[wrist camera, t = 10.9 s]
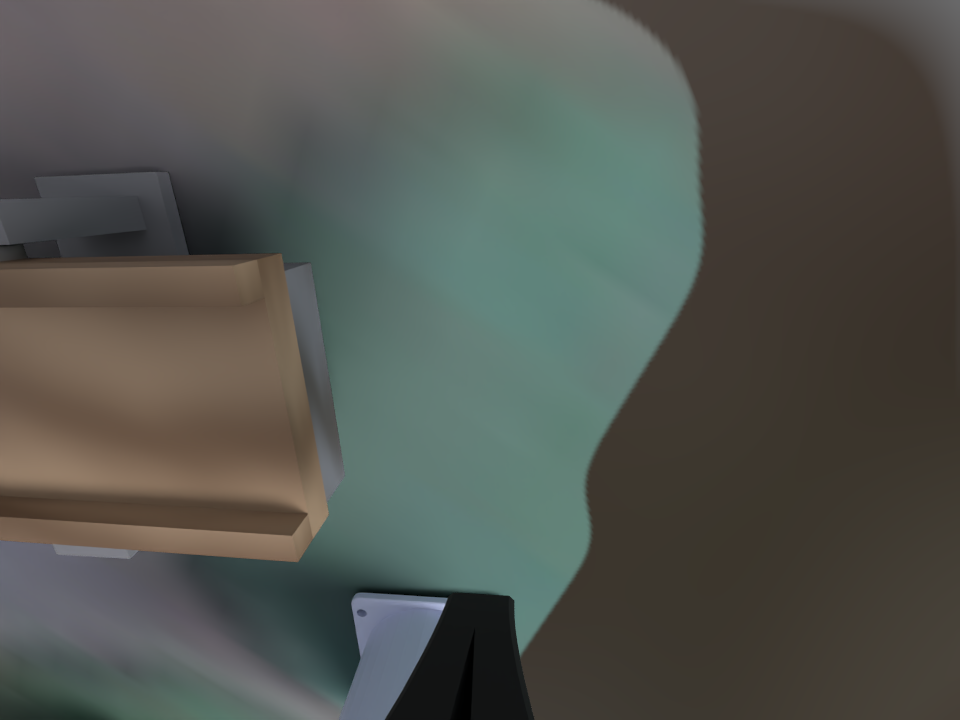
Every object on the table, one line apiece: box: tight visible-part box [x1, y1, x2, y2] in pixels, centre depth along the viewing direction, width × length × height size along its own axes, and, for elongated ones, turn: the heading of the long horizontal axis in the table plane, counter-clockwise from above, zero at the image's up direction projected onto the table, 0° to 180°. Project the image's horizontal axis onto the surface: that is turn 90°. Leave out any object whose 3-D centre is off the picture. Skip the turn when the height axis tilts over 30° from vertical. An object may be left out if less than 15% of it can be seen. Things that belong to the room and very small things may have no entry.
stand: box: [0, 172, 189, 559], centre depth 17 cm, size 14×5×6 cm, turn 2°
